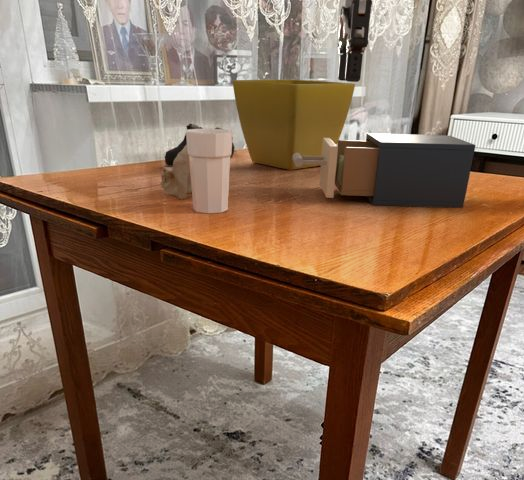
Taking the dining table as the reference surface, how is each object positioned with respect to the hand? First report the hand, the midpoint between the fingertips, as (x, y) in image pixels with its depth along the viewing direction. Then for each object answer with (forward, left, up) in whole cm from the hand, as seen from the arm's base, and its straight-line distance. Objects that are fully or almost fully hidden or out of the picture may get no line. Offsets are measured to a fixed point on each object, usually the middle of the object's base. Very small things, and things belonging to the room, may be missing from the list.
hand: (348, 81), depth 84 cm
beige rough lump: (+27, +2, -18) cm, 32 cm away
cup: (+21, +12, -18) cm, 30 cm away
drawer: (-1, 0, -17) cm, 17 cm away
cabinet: (-12, 0, -18) cm, 21 cm away
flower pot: (+7, -33, -18) cm, 38 cm away
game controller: (+26, -24, -18) cm, 39 cm away
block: (-2, 0, -16) cm, 16 cm away
